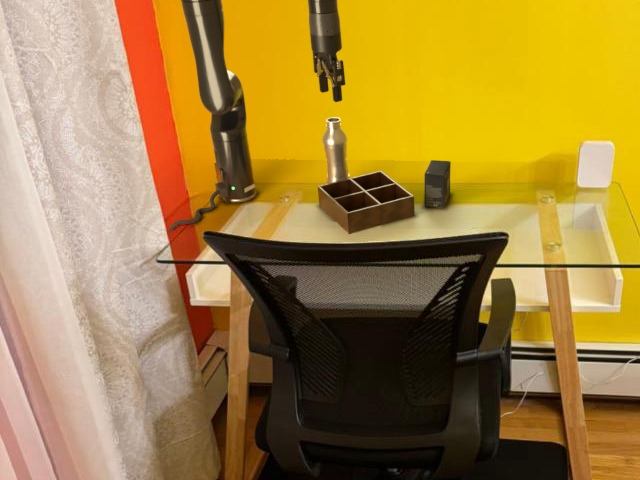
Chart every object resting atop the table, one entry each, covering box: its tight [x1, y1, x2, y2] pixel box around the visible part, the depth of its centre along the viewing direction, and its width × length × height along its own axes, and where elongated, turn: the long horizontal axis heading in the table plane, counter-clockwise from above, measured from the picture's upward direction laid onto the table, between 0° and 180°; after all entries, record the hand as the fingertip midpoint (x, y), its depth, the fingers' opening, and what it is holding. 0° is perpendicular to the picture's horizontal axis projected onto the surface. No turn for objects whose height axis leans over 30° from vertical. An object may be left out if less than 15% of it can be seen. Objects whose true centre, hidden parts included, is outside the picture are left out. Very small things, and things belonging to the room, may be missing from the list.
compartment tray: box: [317, 170, 416, 235], centre depth 205 cm, size 19×19×6 cm
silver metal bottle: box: [321, 116, 351, 184], centre depth 211 cm, size 6×7×20 cm
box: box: [423, 159, 452, 209], centre depth 207 cm, size 9×6×10 cm, turn 167°
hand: (331, 96), depth 201 cm, fingers open, 8 cm apart
